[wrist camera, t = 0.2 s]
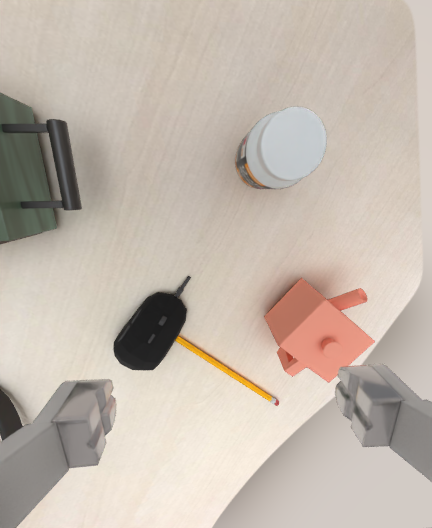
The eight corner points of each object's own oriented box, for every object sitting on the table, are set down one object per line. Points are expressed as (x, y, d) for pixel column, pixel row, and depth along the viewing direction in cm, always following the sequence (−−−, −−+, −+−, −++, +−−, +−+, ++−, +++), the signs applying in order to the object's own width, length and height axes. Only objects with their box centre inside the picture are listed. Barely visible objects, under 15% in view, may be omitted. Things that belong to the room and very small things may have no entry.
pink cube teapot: (357, 292, 31) (409, 326, 23) (292, 354, 34) (320, 404, 26) (316, 255, 30) (358, 279, 22) (251, 323, 32) (267, 367, 24)
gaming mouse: (210, 289, 30) (212, 304, 26) (149, 372, 33) (142, 395, 29) (167, 262, 29) (162, 273, 25) (107, 350, 32) (94, 372, 28)
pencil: (274, 403, 36) (276, 407, 35) (174, 338, 32) (174, 341, 31) (278, 399, 36) (279, 403, 35) (178, 334, 32) (177, 337, 31)
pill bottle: (228, 181, 27) (242, 177, 17) (242, 124, 25) (266, 85, 16) (277, 194, 27) (317, 197, 18) (293, 139, 26) (347, 110, 16)
